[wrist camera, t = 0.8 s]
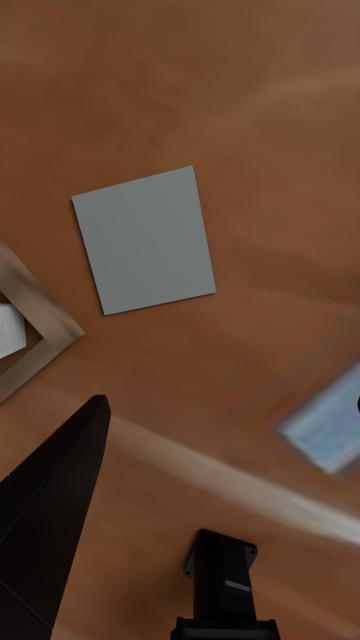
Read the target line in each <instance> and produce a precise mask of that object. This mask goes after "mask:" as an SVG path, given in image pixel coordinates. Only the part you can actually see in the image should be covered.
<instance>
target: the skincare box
mask: <svg viewBox="0 0 360 640" xmlns="http://www.w3.org/2000/svg"><path fill="white" fill-rule="evenodd" d="M24 347H26V333H25V324H24V316H23V314H22V313H21V312H20V311H19V310H18V309H17V308H16V307H15V306H14V305H13V304H4V303H0V359H1V358H3V357H5V356H7V355H10V354H12V353H14V352H16V351H18V350H20V349H22V348H24Z"/></svg>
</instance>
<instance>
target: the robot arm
mask: <svg viewBox="0 0 360 640" xmlns="http://www.w3.org/2000/svg"><path fill="white" fill-rule="evenodd" d="M357 405H358V410H359V412H360V397H359V400H358V404H357ZM110 418H111V410H110V406H109V403H108V400H107V397H106V395H94V396H92V397H91V398H90V399H89V400H88V401H87V402H86V403H85V404H84V405H83V406H82V407H81V408H79V409H78V410H77V411H76V412H75V413H74V414H73V415H72V416H71V417H70V418H69V419H68V420H67V421H66V422H64V423H63V424H62V425H61V426H60V427H59V428H58V429H57V430H56V431H55V432H54V433H53V434H52V435H51V436H49V437H48V438H47V439H46V440H45V441H44V442H43V443H42V444H41V445H40V446H39V447H38V448H37V449H36V450H35V451H33V452H32V453H31V454H30V455H29V456H28V457H27V458H26V459H25V460H24V461H23V462H22V463H21V464H20V465H18V466H17V467H16V468H15V469H14V470H13V471H12V472H11V473H10V474H9V476H7V477H5V478H4V479H3V480H2V481H1V482H0V640H50V638H51V635H52V631H51V630H53V627H54V624H55V620H56V617H57V614H58V610H59V607H60V603H61V600H62V597H63V593H64V590H65V586H66V583H67V580H68V576H69V573H70V569H71V566H72V563H73V559H74V556H75V552H76V549H77V546H78V542H79V539H80V535H81V532H82V528H83V525H84V522H85V518H86V515H87V511H88V508H89V505H90V501H91V498H92V494H93V491H94V488H95V484H96V481H97V477H98V474H99V471H100V467H101V464H102V460H103V456H104V451H105V445H106V440H107V434H108V429H109V423H110ZM257 554H258V550H257V546H256V545H254V544H250V543H247V542H244V541H241V540H238V539H234V538H231V537H228V536H225V535H222V534H218V533H215V532H212V531H209V530H206V529H202V530H200V531H199V534H198V536H197V538H196V541H195V543H194V545H193V548H192V550H191V552H190V555H189V557H188V559H187V561H186V564H185V566H184V569H183V574H184V575H185V576H186V577H189V578H192V579H193V619H183V617H177V622H176V628H175V629H174V630H173V631H171V635H170V640H281V639H280V635H279V632H278V628H277V625H276V621H275V619H269V621H259V620H257V618H256V612H255V607H254V601H253V595H252V587H251V582H250V576H249V569H250V567H251V565H252V563H253V561H254V560H255V558H256V556H257Z"/></svg>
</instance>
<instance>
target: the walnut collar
mask: <svg viewBox="0 0 360 640" xmlns="http://www.w3.org/2000/svg"><path fill="white" fill-rule="evenodd" d="M0 291H1V292H2V293H3V294H4V295H5V296H6V297H7V298H8V299H9V300H10V301H11V303H12V304H13V305H14V306H15V307H16V308H17V309H18V310H19V311H20V312H21V313H22V314H23V315H24V317H25V318H26V319H27V320H28V321H29V322H30V323H31V324H32V325H33V326H34V327H35V328H36V329H37V331H38V332H39V333H40V334H41V335H42V336H43V337H44V339H42V340H41V341H40V342H39V343H38V344H37V345H36V346H34V347H33V348H32V349H31V350H30V351H29V352H28V353H26V354H25V355H24V356H23V357H22V358H21V359H20V360H18V361H17V362H16V363H15V364H14V365H13V366H12V367H10V368H9V369H8V370H7V371H6V372H5V373H4V374H2V375H1V376H0V405H1V404H3V403H4V402H5V401H6V400H7V399H9V398H10V397H11V396H12V395H13V394H14V393H16V392H17V391H18V390H19V389H20V388H22V387H23V386H24V385H25V384H26V383H27V382H29V381H30V380H31V379H32V378H33V377H35V376H36V375H37V374H38V373H39V372H41V371H42V370H43V369H44V368H45V367H46V366H48V365H49V364H50V363H51V362H52V361H54V360H55V359H56V358H57V357H58V356H59V355H61V354H62V353H63V352H64V351H65V350H67V349H68V348H69V347H70V346H71V345H72V344H74V343H75V342H76V341H77V340H78V339H80V338H81V337H82V336H83V335H84V334H86V333H85V332H84V330H83V329H82V328H81V327H80V326H79V325H78V324H77V323H76V322H75V320H74V319H73V318H72V317H71V316H70V315H69V314H68V313H67V312H66V310H65V309H64V308H63V307H62V306H61V305H60V304H59V303H58V301H57V300H56V299H55V298H54V297H53V296H52V295H51V294H50V293H49V291H48V290H47V289H46V288H45V287H44V286H43V285H42V284H41V283H40V281H39V280H38V279H37V278H36V277H35V276H34V275H33V274H32V273H31V271H30V270H29V269H28V268H27V267H26V266H25V265H24V264H23V263H22V261H21V260H20V259H19V258H18V257H17V256H16V255H15V254H14V252H13V251H12V250H11V249H10V248H9V247H8V246H7V245H6V244H5V242H4V241H3V240H2V239H1V238H0Z"/></svg>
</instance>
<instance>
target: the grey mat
mask: <svg viewBox="0 0 360 640" xmlns="http://www.w3.org/2000/svg"><path fill="white" fill-rule="evenodd" d="M72 201H73V204H74V208H75V211H76V215H77V218H78V222H79V226H80V229H81V233H82V236H83V240H84V243H85V247H86V250H87V254H88V258H89V261H90V265H91V268H92V272H93V275H94V279H95V283H96V286H97V290H98V293H99V297H100V300H101V304H102V308H103V311H104V315H109V314H114V313H118V312H123V311H128V310H133V309H138V308H143V307H147V306H152V305H157V304H162V303H167V302H172V301H176V300H181V299H186V298H191V297H196V296H201V295H205V294H210V293H215V292H216V288H215V282H214V277H213V272H212V266H211V261H210V256H209V250H208V245H207V239H206V234H205V229H204V223H203V218H202V213H201V207H200V202H199V197H198V191H197V186H196V180H195V175H194V170H193V165H192V166H188V167H184V168H180V169H176V170H173V171H169V172H165V173H161V174H157V175H153V176H149V177H145V178H142V179H138V180H134V181H130V182H126V183H122V184H118V185H114V186H111V187H107V188H103V189H99V190H95V191H91V192H87V193H83V194H80V195H76V196H72Z"/></svg>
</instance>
